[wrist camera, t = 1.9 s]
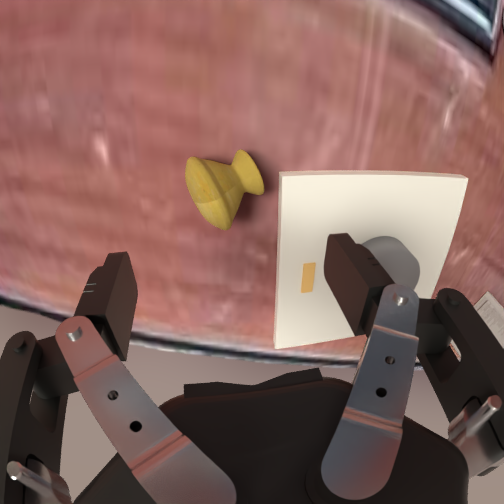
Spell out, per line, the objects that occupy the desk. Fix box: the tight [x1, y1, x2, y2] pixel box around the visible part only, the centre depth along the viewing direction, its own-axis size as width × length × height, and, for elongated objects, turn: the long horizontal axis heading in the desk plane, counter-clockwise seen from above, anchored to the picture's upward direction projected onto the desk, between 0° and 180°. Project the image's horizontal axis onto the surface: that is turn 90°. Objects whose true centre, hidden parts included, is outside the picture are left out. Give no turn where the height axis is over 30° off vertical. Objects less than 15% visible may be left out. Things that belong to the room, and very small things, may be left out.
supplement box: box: [451, 291, 504, 357], centre depth 31 cm, size 10×9×17 cm
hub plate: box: [273, 170, 468, 349], centre depth 26 cm, size 18×18×4 cm
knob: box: [185, 150, 264, 230], centre depth 19 cm, size 5×5×5 cm
